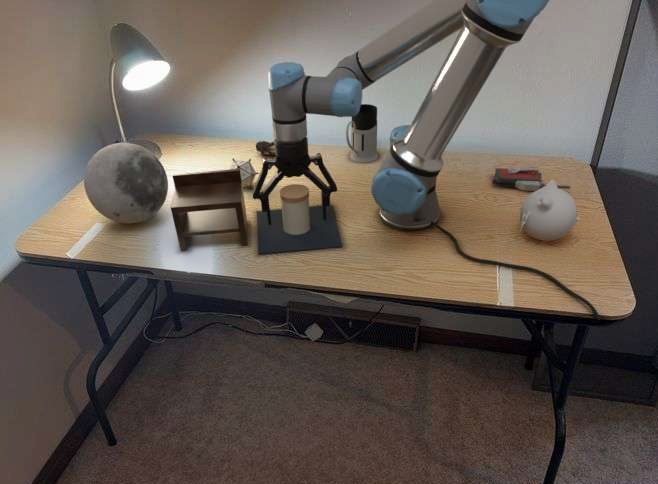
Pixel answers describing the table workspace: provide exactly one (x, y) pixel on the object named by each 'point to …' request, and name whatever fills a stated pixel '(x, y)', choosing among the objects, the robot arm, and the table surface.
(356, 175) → the table surface
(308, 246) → the mat
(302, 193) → the canister
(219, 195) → the shelf
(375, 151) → the glass holder
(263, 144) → the toy figure
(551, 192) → the grey round piece
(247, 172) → the spiked polyhedron
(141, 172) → the moon model
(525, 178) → the walkie-talkie
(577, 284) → the table surface
